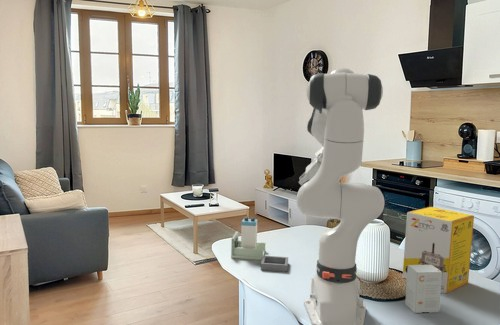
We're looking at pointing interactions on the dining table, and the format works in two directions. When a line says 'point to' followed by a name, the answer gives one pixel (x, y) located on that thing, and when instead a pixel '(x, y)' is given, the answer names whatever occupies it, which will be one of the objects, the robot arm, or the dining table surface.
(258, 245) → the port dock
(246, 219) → the plug block
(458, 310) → the dining table surface
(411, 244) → the packaging box
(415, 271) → the small box
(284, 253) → the dining table surface
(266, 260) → the frame
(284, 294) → the dining table surface
